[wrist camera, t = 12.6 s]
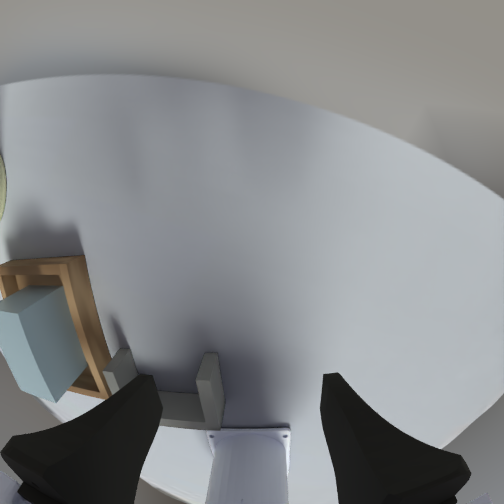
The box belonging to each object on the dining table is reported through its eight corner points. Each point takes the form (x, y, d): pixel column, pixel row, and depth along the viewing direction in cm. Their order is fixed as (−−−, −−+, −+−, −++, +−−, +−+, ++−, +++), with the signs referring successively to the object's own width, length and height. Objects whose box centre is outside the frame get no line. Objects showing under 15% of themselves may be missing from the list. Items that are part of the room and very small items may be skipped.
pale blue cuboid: (88, 365, 21) (56, 403, 16) (53, 358, 22) (21, 390, 16) (63, 285, 20) (17, 313, 14) (28, 285, 20) (-14, 308, 14)
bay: (225, 402, 22) (220, 430, 19) (136, 395, 23) (123, 419, 19) (217, 352, 21) (209, 380, 17) (120, 348, 21) (102, 370, 18)
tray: (120, 384, 22) (110, 400, 20) (46, 368, 23) (34, 380, 20) (84, 255, 19) (66, 263, 17) (11, 260, 20) (-5, 267, 18)
